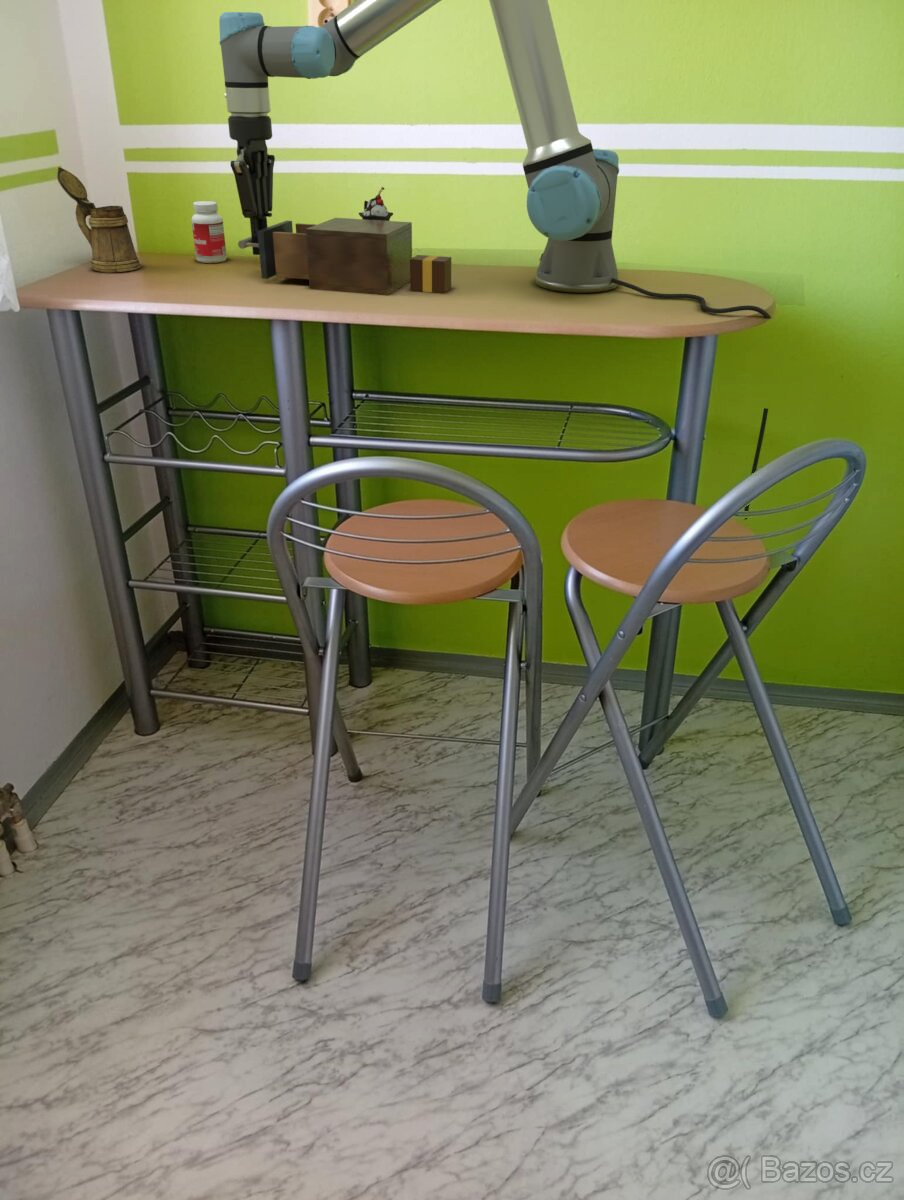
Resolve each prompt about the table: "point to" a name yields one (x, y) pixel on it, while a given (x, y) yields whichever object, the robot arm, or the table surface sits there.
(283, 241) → the drawer
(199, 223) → the pill bottle
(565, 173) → the robot arm
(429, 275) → the chocolate
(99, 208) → the wooden mug
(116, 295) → the table surface
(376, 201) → the sundae
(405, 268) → the cabinet
